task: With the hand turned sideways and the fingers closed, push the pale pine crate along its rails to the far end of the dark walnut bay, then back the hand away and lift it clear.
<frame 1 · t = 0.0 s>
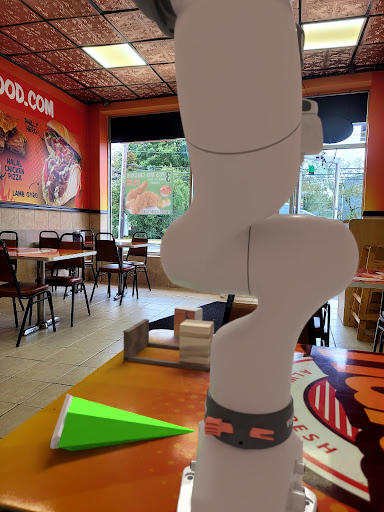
hand: (271, 177, 76), 48 cm above the table, tool pointing down, fingers open, 8 cm apart
small box: (187, 339, 120), on the table
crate: (196, 341, 98), point 6 cm above the table, slide at 0.0 cm
bay: (174, 360, 100), on the table
paper cone: (119, 433, 65), on the table
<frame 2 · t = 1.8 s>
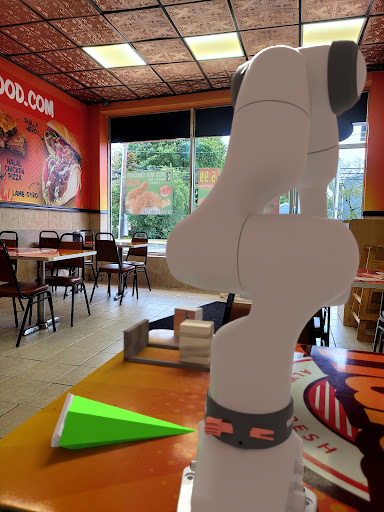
hand: (227, 283, 94), 22 cm above the table, tool horizontal, fingers open, 8 cm apart
nothing on the table moved.
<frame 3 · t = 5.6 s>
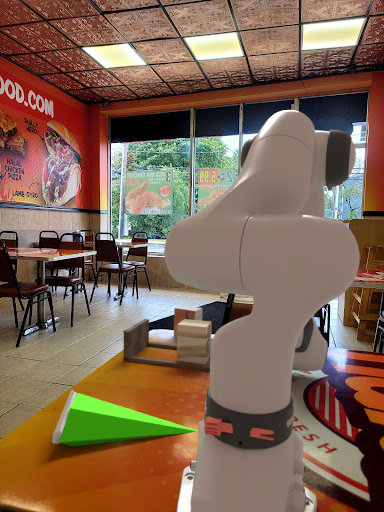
hand: (208, 342, 97), 6 cm above the table, tool horizontal, fingers closed, pressing on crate
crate: (194, 341, 98), point 6 cm above the table, slide at 0.7 cm, touching gripper
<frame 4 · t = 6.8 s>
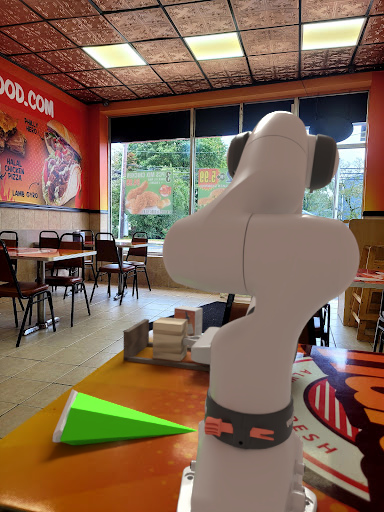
hand: (184, 340, 99), 6 cm above the table, tool horizontal, fingers closed, pressing on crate
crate: (170, 338, 100), point 6 cm above the table, slide at 7.6 cm, touching gripper
everything else where it was.
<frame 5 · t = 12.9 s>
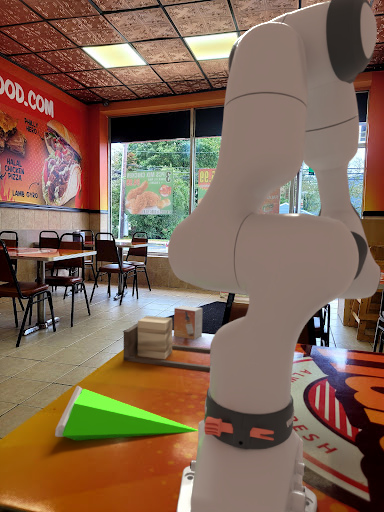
hand: (241, 274, 87), 26 cm above the table, tool horizontal, fingers closed
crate: (155, 336, 101), point 6 cm above the table, slide at 12.2 cm
at the end: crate slide at 12.2 cm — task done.
